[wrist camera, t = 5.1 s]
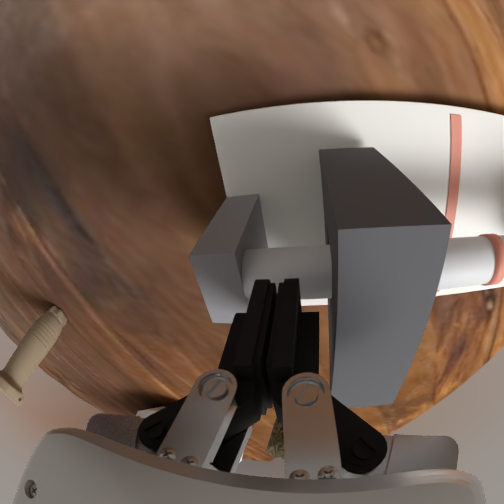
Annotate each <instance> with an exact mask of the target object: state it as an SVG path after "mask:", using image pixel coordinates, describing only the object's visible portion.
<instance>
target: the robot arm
mask: <svg viewBox="0 0 504 504" xmlns="http://www.w3.org/2000/svg"><path fill="white" fill-rule="evenodd" d="M273 403H274V407H275V411H276V415H277V420H278V421H279V422H280V424H281V425H282V426H283V435H284V463H285V479H283V478H268V477H258V476H248V475H242V474H235V471H236V469H237V466H238V464H239V462H240V459H241V457H242V454H243V452H244V449H245V447H246V444H247V442H248V439H249V437H250V434H251V432H252V429H253V424H254V423H256V422H257V421H259V420H260V418H261V415H266V411H267V408H272V404H273ZM457 460H458V445H457V443H456V441H455V440H454V439H452V438H451V437H448V436H417V435H416V436H415V435H398V434H395V435H394V436H387V435H382V434H381V433H380V432H378V431H377V430H376V429H374V428H373V427H372V426H370V425H369V424H368V423H366V422H365V421H364V420H362V419H361V418H360V417H359V416H357V415H356V414H355V413H353V412H352V411H351V410H350V409H348V408H347V407H346V406H345V405H343V404H342V403H341V402H340V401H338V400H337V399H336V398H335V397H333V396H332V395H331V392H330V387H329V385H328V382H327V381H326V380H325V379H324V378H323V377H322V376H320V375H319V312H302V311H301V296H300V283H299V278H288V279H284V282H282V283H279V286H278V292H277V290H276V284H275V283H271V281H270V279H256V280H255V281H254V285H253V289H252V293H251V296H250V300H249V304H248V308H247V312H246V313H236V314H235V316H234V319H233V322H232V325H231V328H230V332H229V335H228V338H227V342H226V345H225V348H224V351H223V355H222V358H221V361H220V364H219V368H218V369H214V370H209V371H207V372H205V373H203V374H202V375H201V376H199V377H198V379H197V380H196V381H195V383H194V385H193V387H192V389H191V391H190V393H189V394H188V395H187V396H186V397H184V398H182V399H180V400H178V401H176V402H175V403H173V404H171V405H169V406H167V407H165V408H163V409H161V410H159V411H157V412H155V413H153V414H151V415H149V416H148V417H146V418H141V417H140V416H129V415H115V414H104V413H101V414H96V415H94V416H92V417H91V419H90V420H89V422H88V424H87V428H86V431H85V430H81V429H77V428H58V429H54V430H51V431H49V432H47V433H46V434H45V435H44V436H43V437H42V439H41V440H40V441H39V443H38V445H37V446H36V448H35V450H34V452H33V454H32V456H31V458H30V460H29V462H28V464H27V467H26V469H25V471H24V473H23V476H22V479H21V481H20V484H19V487H18V489H17V492H16V495H15V498H14V502H13V504H486V500H485V494H484V490H483V487H482V484H481V482H480V481H479V480H478V478H477V477H476V476H474V475H472V474H470V473H467V472H464V471H459V470H456V468H457Z"/></svg>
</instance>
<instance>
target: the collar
mask: <svg viewBox="0 0 504 504" xmlns="http://www.w3.org/2000/svg"><path fill="white" fill-rule="evenodd" d="M319 160H320V170H321V181H322V193H323V207H324V222H325V242H326V245H330V253H331V261H332V298H328V318H329V349H330V392H331V395H332V396H333V397H335V398H336V399H337V400H338V401H340V402H341V403H342V404H343V405H345V406H346V407H347V408H356V407H367V406H377V405H386V404H393V402H394V400H395V398H396V396H397V394H398V392H399V390H400V388H401V386H402V383H403V381H404V379H405V377H406V375H407V373H408V370H409V368H410V366H411V363H412V361H413V359H414V356H415V354H416V351H417V349H418V346H419V344H420V341H421V338H422V336H423V333H424V330H425V327H426V324H427V322H428V319H429V316H430V312H431V309H432V306H433V303H434V300H435V296H436V293H437V289H438V286H439V282H440V278H441V274H442V270H443V266H444V262H445V257H446V253H447V248H448V243H449V238H450V232H451V226H452V224H451V223H450V222H449V221H448V219H447V218H446V217H445V216H444V215H443V214H442V213H441V212H440V210H439V209H438V208H437V207H436V206H435V205H434V204H433V203H432V202H431V201H430V200H429V199H428V198H427V197H426V196H425V195H424V193H423V192H422V191H421V190H420V189H419V188H418V187H417V186H416V185H415V184H414V183H412V182H411V181H410V180H409V179H408V178H407V177H406V176H405V175H404V174H403V173H402V172H401V171H400V170H399V169H398V168H397V167H396V166H394V165H393V164H392V163H391V162H390V161H389V160H388V159H387V158H385V157H384V156H383V155H382V154H381V153H380V152H379V151H377V150H376V149H375V148H374V147H359V148H336V149H319Z"/></svg>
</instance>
